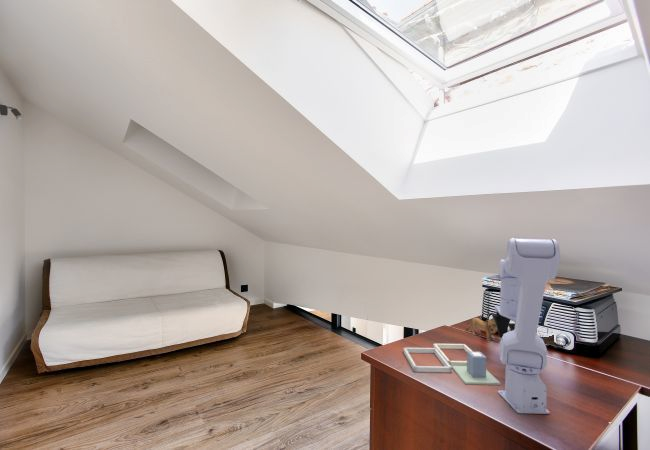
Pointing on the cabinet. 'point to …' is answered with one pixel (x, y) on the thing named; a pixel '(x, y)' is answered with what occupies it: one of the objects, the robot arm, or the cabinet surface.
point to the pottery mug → (548, 339)
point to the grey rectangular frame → (427, 368)
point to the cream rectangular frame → (452, 346)
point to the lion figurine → (484, 326)
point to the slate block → (476, 364)
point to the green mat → (469, 379)
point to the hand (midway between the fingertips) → (509, 341)
